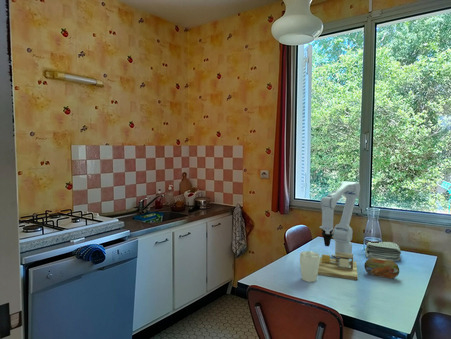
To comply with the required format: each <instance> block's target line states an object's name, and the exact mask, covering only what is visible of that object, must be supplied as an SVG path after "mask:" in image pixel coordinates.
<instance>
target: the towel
mask: <svg viewBox="0 0 451 339" xmlns="http://www.w3.org/2000/svg"><path fill="white" fill-rule="evenodd" d="M367 242H368V241H367ZM371 242H372V241H371ZM371 242H368V243H366V248H365V247H364V251H365V257H366V258H368V259H369V258H378V259H385V260H391V261H394V262H400V261H401V259H402V258H401V254H402V250H401V248H400V246H399V245H398V244H397V243H395V242H391V241H378V242H379V243H371Z"/></svg>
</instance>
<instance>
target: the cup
mask: <svg viewBox="0 0 451 339" xmlns="http://www.w3.org/2000/svg"><path fill="white" fill-rule="evenodd" d="M319 257H320V254H319V253H318V252H315V251H310V250H309V251H306V250H305V251H301V252H300V253H299V264H300V273H301V279H302V280H303V281H304V282H307V283H314V282H316V281H317V278H318V275H319V274H318V269H319V263H320V258H319Z"/></svg>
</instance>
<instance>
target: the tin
mask: <svg viewBox="0 0 451 339" xmlns="http://www.w3.org/2000/svg"><path fill="white" fill-rule="evenodd" d="M363 266H364V271H365V272H366V273H367V274H369V275H370V276H374V277H378V278H385V279H395V278H397V277H398V275H399V274H400V268H399V266H398V264H397V263H396V261H391V260H385V259H378V258H368V259H366V261H365V263H364V265H363Z"/></svg>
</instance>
